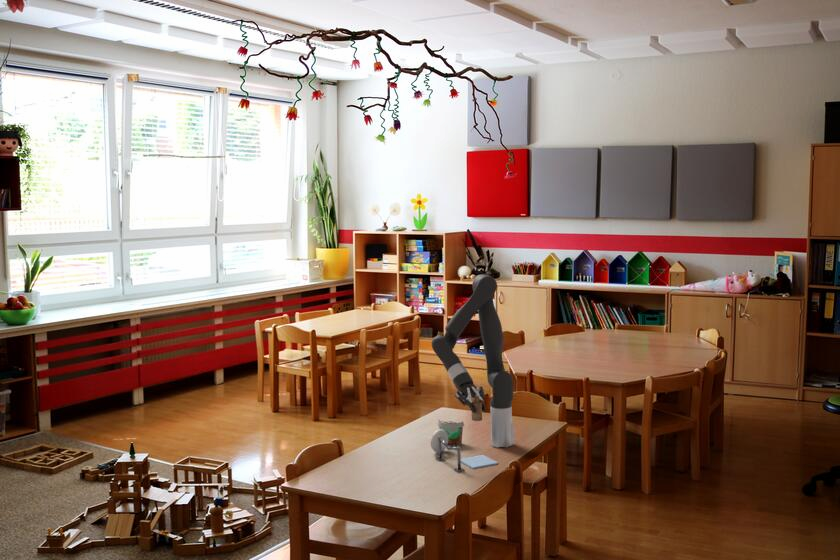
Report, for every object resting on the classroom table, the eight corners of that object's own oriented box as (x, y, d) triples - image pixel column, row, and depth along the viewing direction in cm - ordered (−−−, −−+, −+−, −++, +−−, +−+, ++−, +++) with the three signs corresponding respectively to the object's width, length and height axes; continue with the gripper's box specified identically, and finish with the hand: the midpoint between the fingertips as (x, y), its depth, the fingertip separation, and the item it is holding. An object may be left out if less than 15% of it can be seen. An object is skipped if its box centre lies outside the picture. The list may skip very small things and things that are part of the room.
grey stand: (441, 458, 330) (441, 435, 329) (464, 471, 313) (463, 446, 312) (435, 459, 328) (434, 436, 327) (457, 472, 311) (457, 448, 310)
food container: (433, 444, 348) (433, 422, 347) (438, 441, 354) (438, 419, 353) (460, 447, 343) (459, 424, 343) (464, 443, 349) (464, 421, 348)
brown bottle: (478, 417, 324) (478, 394, 323) (484, 420, 320) (483, 397, 319) (470, 419, 322) (469, 396, 321) (475, 421, 318) (474, 398, 317)
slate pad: (482, 456, 331) (482, 454, 331) (498, 463, 320) (498, 462, 320) (457, 460, 325) (457, 459, 325) (472, 469, 315) (472, 467, 315)
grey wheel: (435, 456, 333) (434, 432, 332) (429, 454, 335) (428, 431, 334) (450, 450, 340) (449, 427, 339) (443, 448, 342) (443, 426, 342)
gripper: (450, 374, 321) (470, 408, 313) (477, 368, 330) (497, 402, 321) (442, 384, 326) (462, 419, 317) (469, 379, 334) (489, 412, 326)
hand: (480, 410), depth 319 cm, fingers closed on brown bottle, 4 cm apart
